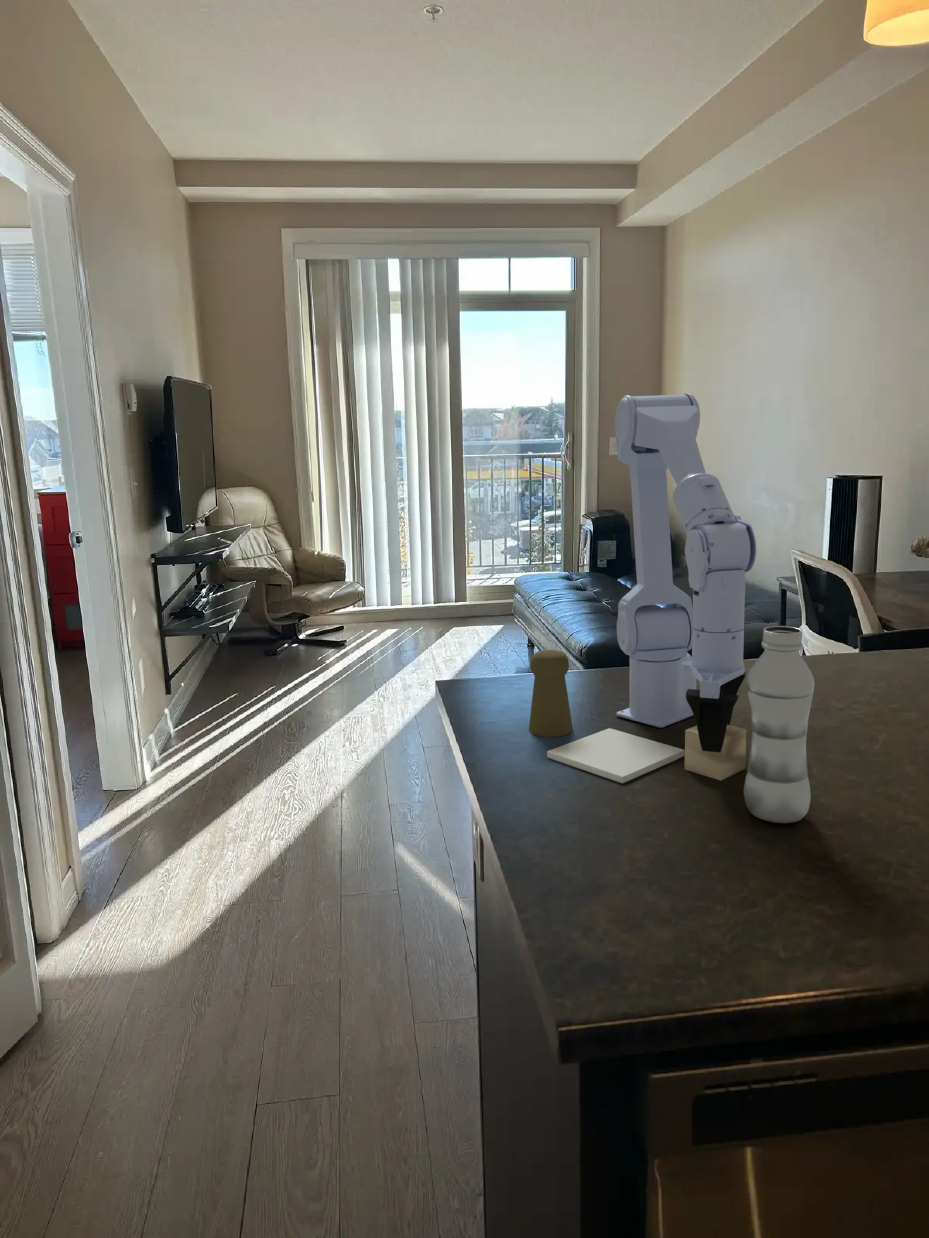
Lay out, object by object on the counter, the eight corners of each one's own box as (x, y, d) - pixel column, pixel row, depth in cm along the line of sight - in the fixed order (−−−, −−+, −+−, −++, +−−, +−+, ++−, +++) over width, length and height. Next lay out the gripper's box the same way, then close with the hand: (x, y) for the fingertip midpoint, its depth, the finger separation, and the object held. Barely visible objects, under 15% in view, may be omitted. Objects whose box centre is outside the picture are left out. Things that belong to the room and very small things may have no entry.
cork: (570, 737, 118) (569, 657, 116) (525, 736, 120) (523, 656, 117) (574, 722, 124) (573, 646, 122) (531, 721, 125) (529, 645, 123)
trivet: (609, 733, 119) (609, 728, 119) (684, 756, 110) (684, 749, 110) (547, 757, 112) (547, 751, 111) (622, 783, 103) (622, 776, 103)
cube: (708, 758, 109) (709, 720, 108) (744, 769, 106) (746, 729, 105) (684, 769, 106) (685, 730, 105) (720, 781, 103) (722, 740, 102)
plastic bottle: (778, 836, 88) (785, 640, 84) (728, 812, 94) (733, 628, 90) (824, 821, 91) (833, 631, 87) (773, 798, 97) (780, 619, 93)
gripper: (691, 613, 110) (689, 717, 113) (672, 640, 97) (671, 757, 100) (750, 615, 108) (747, 722, 111) (739, 643, 95) (736, 763, 97)
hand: (715, 739), depth 105 cm, fingers open, 7 cm apart
